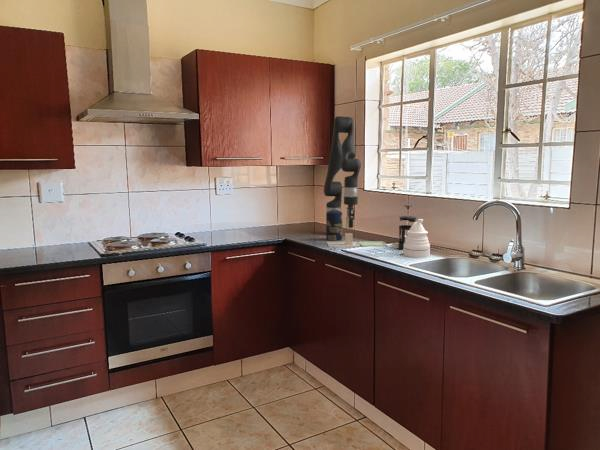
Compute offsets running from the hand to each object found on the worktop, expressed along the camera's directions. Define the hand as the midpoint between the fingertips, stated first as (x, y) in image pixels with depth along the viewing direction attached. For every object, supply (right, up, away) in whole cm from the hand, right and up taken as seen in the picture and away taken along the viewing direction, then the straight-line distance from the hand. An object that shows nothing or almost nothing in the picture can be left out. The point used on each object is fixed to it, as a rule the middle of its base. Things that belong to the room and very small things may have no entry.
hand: (350, 226), depth 263 cm
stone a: (0, -1, 0) cm, 1 cm away
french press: (+29, -12, -8) cm, 33 cm away
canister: (-8, -8, +18) cm, 21 cm away
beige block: (-1, -10, +1) cm, 10 cm away
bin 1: (-4, -10, +1) cm, 11 cm away
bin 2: (+12, -10, +2) cm, 16 cm away
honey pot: (+30, -14, -25) cm, 42 cm away
